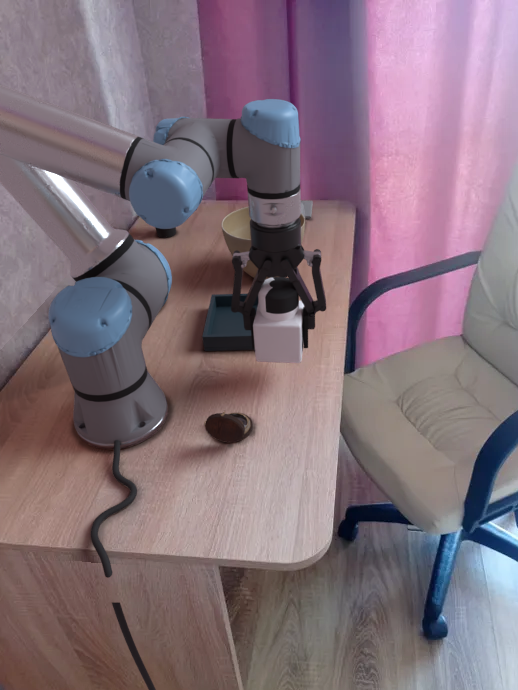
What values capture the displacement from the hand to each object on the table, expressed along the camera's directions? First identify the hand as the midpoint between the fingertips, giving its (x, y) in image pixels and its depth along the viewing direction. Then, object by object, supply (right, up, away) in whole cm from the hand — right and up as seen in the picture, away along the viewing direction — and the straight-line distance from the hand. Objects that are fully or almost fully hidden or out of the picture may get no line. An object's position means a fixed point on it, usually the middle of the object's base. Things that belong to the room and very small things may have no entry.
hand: (280, 343), depth 99 cm
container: (0, -1, +1) cm, 1 cm away
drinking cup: (-30, +32, +51) cm, 67 cm away
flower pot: (-3, +19, +34) cm, 39 cm away
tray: (-6, +4, +17) cm, 18 cm away
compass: (-9, -15, -6) cm, 18 cm away
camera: (+3, +36, +53) cm, 64 cm away
